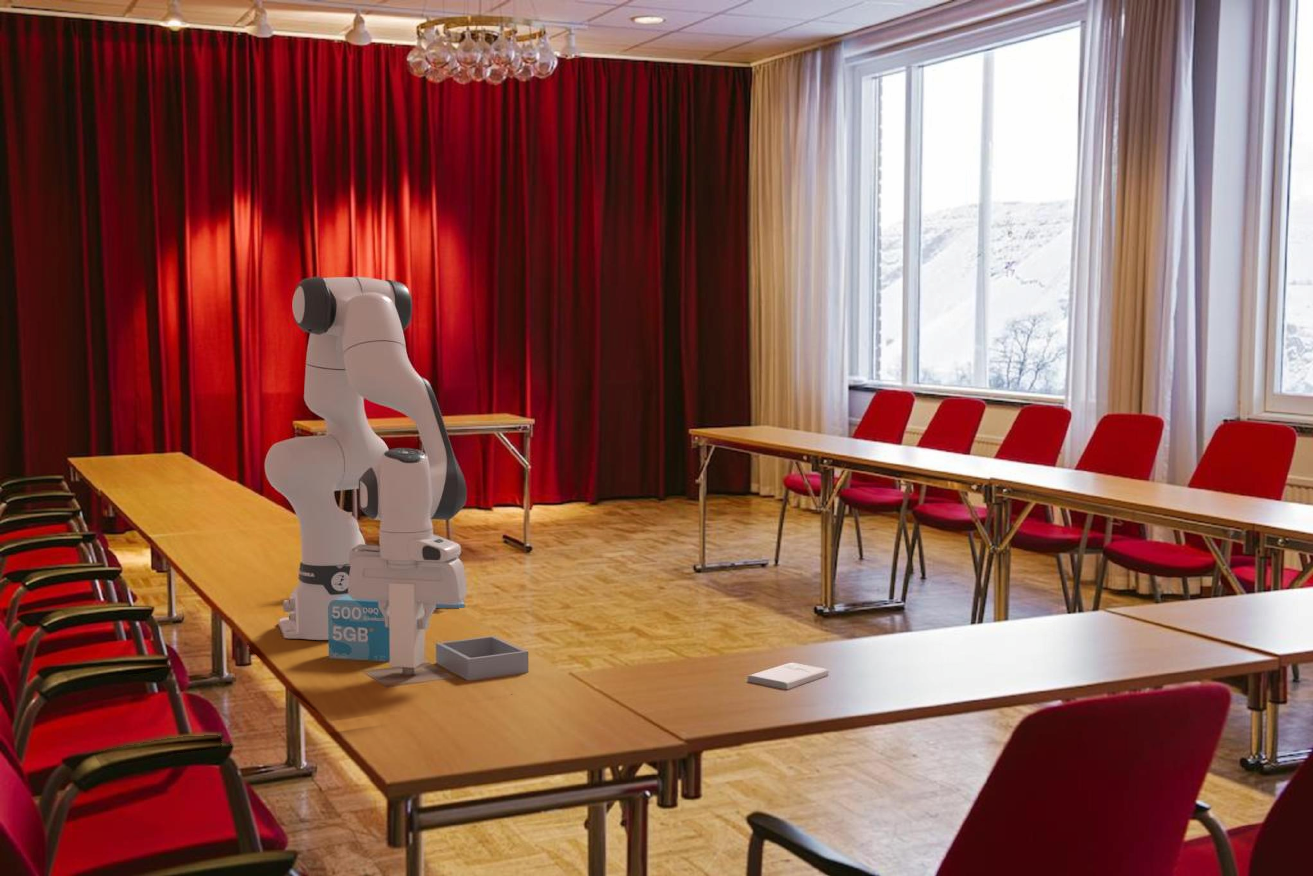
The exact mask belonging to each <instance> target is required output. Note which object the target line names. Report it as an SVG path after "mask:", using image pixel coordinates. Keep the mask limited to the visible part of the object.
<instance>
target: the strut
mask: <svg viewBox="0 0 1313 876" xmlns="http://www.w3.org/2000/svg"><path fill="white" fill-rule="evenodd" d="M425 612H426V610H424V609H423V603H415V584H402V583H389V630H390V661H389V667H410V668H415V667H417V666H418V665H420V664H422V663H426V635H425V634H426V630H423V629H418V628H417V625H418V624H417V619H419V618H421V617H423V616H424V614H425Z"/></svg>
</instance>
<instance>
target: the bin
mask: <svg viewBox="0 0 1313 876" xmlns="http://www.w3.org/2000/svg"><path fill="white" fill-rule="evenodd" d="M435 663H436V664H437V665H438V666H441V667H442V668H444V669H446V670H448V671H450V672H452V673H453V674H455V675H458V677H461V678H463V679H465V680H466V681H469V682H470V681H475V680H482V679H490V678H496V677H504V676H510V675H517V674H525V673H529V651H528V650H526V649H523V648H521V647H519V646H517V645H515V644H513V643H511V642H508V641H506V640H504V639H502V638H500V637H498V636H496V635H490V636H482V637H481V636H480V637H473V638H465V639H458V640H451V641H442V642H435Z"/></svg>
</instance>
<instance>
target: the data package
mask: <svg viewBox="0 0 1313 876" xmlns="http://www.w3.org/2000/svg"><path fill="white" fill-rule="evenodd" d="M327 641H328V658H329V659H343V660H357V661H358V660H360V661H361V660H362V661H377V662H390V630H389V627H385V617H384V616H383V614H382V612H381V611H380V609H379V607H378V601H374V600H356V599H352V598H351V597H350V595H344V596H342V597H339V598H337V599H335V600H332V601H331V602H330V603H329V605H328V640H327Z"/></svg>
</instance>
